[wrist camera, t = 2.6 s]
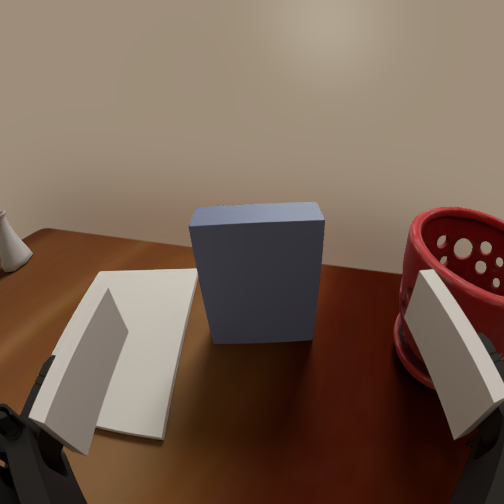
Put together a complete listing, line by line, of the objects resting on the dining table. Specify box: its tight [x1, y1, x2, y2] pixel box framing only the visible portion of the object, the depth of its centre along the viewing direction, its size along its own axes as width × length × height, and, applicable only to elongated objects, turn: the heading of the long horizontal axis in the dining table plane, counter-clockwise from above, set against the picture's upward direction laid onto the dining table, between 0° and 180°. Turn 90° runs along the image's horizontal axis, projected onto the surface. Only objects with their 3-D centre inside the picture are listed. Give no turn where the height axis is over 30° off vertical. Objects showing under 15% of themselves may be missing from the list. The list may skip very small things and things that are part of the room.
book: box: [189, 202, 325, 344], centre depth 23 cm, size 3×9×12 cm, turn 90°
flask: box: [0, 210, 33, 272], centre depth 37 cm, size 7×7×10 cm
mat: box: [52, 269, 198, 440], centre depth 26 cm, size 21×14×1 cm, turn 0°
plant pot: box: [393, 207, 504, 390], centre depth 19 cm, size 13×13×12 cm
